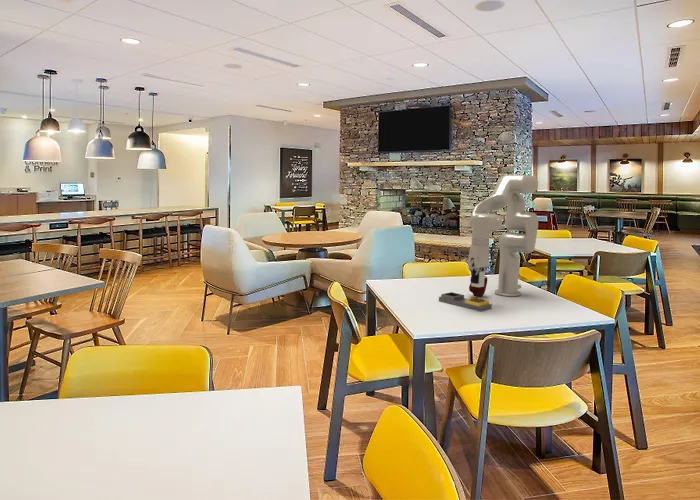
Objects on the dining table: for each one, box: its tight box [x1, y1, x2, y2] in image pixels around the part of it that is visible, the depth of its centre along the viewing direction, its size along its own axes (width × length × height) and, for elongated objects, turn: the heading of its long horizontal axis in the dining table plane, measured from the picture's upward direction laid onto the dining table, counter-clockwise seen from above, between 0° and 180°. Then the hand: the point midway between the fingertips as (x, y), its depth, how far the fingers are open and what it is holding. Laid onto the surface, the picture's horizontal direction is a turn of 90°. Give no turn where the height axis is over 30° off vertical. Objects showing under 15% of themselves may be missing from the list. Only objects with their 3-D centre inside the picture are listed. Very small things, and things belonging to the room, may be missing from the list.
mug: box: [468, 275, 488, 298], centre depth 246 cm, size 11×8×10 cm
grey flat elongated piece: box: [438, 291, 493, 312], centre depth 230 cm, size 8×24×4 cm, turn 40°
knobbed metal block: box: [470, 268, 486, 287], centre depth 223 cm, size 4×4×8 cm
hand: (477, 282), depth 223 cm, fingers closed on knobbed metal block, 4 cm apart
